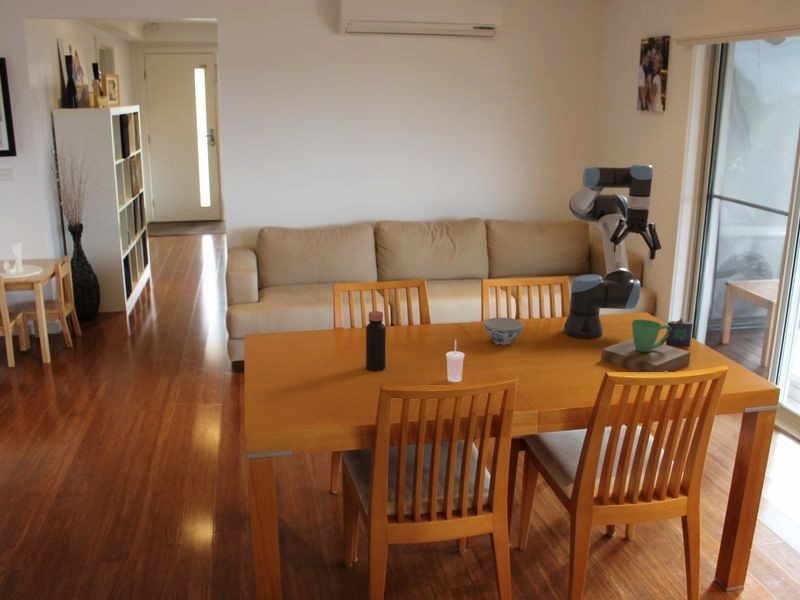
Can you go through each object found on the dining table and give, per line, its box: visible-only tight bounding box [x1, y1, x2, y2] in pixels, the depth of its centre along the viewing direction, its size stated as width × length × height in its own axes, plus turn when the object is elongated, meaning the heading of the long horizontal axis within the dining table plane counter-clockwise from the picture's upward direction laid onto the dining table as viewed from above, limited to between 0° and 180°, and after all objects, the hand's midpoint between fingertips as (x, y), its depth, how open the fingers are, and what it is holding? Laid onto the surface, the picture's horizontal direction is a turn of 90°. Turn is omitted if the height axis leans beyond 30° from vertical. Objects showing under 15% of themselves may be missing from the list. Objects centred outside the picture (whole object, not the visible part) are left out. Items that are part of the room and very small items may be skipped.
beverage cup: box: [445, 339, 465, 383], centre depth 254 cm, size 6×6×14 cm
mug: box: [631, 319, 671, 352], centre depth 273 cm, size 15×10×10 cm
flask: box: [665, 317, 693, 347], centre depth 292 cm, size 9×3×11 cm, turn 87°
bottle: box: [365, 310, 387, 372], centre depth 263 cm, size 7×7×20 cm
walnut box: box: [600, 337, 692, 373], centre depth 274 cm, size 22×22×5 cm
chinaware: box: [483, 317, 524, 346], centre depth 293 cm, size 15×15×8 cm
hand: (633, 264), depth 283 cm, fingers open, 13 cm apart
